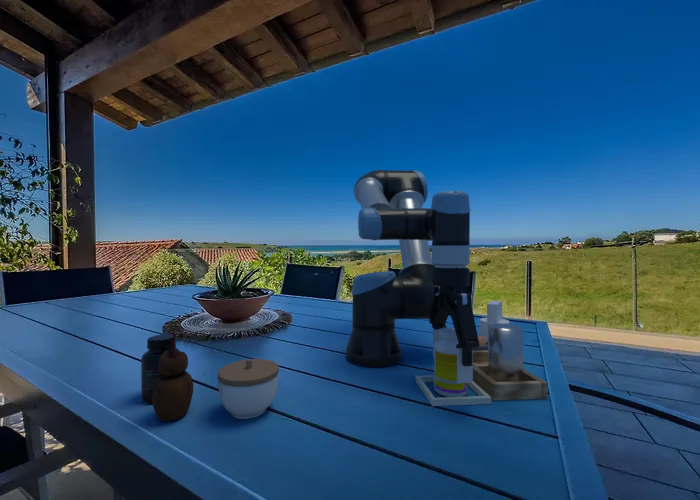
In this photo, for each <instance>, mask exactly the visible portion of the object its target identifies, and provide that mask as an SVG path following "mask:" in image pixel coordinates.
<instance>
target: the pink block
mask: <svg viewBox="0 0 700 500" xmlns="http://www.w3.org/2000/svg"><path fill="white" fill-rule="evenodd" d="M477 335H478V340H479V345H486V337H485V336H481V335H480V334H477Z"/></svg>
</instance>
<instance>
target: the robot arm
mask: <svg viewBox="0 0 700 500" xmlns="http://www.w3.org/2000/svg"><path fill="white" fill-rule="evenodd" d="M428 190H429V189H428V181H427V178H426V176H425V174H424V172H422V171H420V170H414V169H408V170H400V169H399V170H393V169H391V170H390V169H385V170H384V169H377V170H376V169H375V170H371V171H369V172H367V173H364V174H363V175H362V176H361V177H359V178H358V179H357V181H356V182H355V184H354V187H353V194H354V198H355V200H356V201H357V203H358V204H360V207H361V208H360V209H359V211H358V215H357V219H358V220H357V228H358V237H359V238H360V239H362V240H368V241H369V240H370V241H371V240H372V241H385V240H386V241H389V240H390V241H391V240H392V241H398V244H399V249H400V256H401V263H402V269H400V271H399V272H398V276H397V275H396V273H395V271H392V270H386V271H383V270H382V271H375V272H373V271H372V272H368V273H364V274H362V273H361V274H359V275H357V276H355V278H353V280H352V290H351V296H352V309H351V310H352V312H351V313H352V314H351V315H352V316H351V317H352V320H351V321H352V322H351V323H352V324H351V327H352V328H351V332H350V335H349V339H348V342H347V344H346V345H347V346H346V348H345V358H346V360H347V362H349V363H351V364H353V365H358V366H360V367H361V366H362V367H367V368H368V367H369V368H381V367H383V368H385V367H389V366H394V365H396V364H398V363H400V362H401V361H402V349H401V345H400V342H399V338H398V335H397V332H396V320H429V324H430V325H431V327H432V357H433V359H434V345H435V343H436V342H437V341H438V340H440V337H439V329H440V328H448V327H447V324H446V323H447V320H448V317H450V318H451V320H452V324H453V328H455V332H456V336H457V339H458V343H459V344H457V345H456V348H457V382H458V383H472V382H473V348H476V347H479V340H478V335H479V334H478V330H477V325H476V322H475V316H474V312H473V306H472V296H471V293H467V292H466V293H464V291H463V288H464V287H468V286H470V284H471V279H470V278H471V274H470V273H471V269H470V268H469V267H467V266H469V265H470V262H471V261H470V258H471V257H470V255H472V251H471V250H470V231H471V230H470V229H471V228H470V227H471V222H470V221H471V217H470V215H471V207H470V205H471V204H470V196H469V194H468V193H467V192H465V191H462V190H446V191H444V190H443V191H440V192H439V191H438V192H436V193H434V194H433V195H432V198H431V205H430V208H429V207H427V208H425V207H423V206H424V204H425V203H426V201H427V199H428V195H429V191H428ZM429 241H431V245H432V246H431V251H430V245H429Z"/></svg>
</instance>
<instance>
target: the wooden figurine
mask: <svg viewBox="0 0 700 500" xmlns="http://www.w3.org/2000/svg"><path fill="white" fill-rule="evenodd" d="M175 333H176V332H175V329H173V330H172V335H173V341H172V352H169V353H166V354H164V355H162V356H161V358H160V360H159V365H158V369H159V373H160V374H161V375H162V376H161V377H159V379H158V380H157V382H156V383H155V386H154V389H153V394H152V403H153V404H152V408H153V410H154V414H155V415H156V417H157V418H158V419H159V420H161V421H162V422H171V421H175V420H176V421H177V419H180V418H182V417H183V416H184V415H185V414H187V412H188V410H189V409H190V406H191V402H192V399H193V395H194V381H193V378H192V375H191V374H190V373H189V372H188V371H187V369H188V366H189V359H188V355H187V354H186V353H185V352H184V351H182V350H179V351H176V348H177V345H176V344H177V343H176V334H175Z"/></svg>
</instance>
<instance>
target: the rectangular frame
mask: <svg viewBox="0 0 700 500" xmlns="http://www.w3.org/2000/svg"><path fill="white" fill-rule="evenodd" d="M415 382H416V384H417V386H418V387H419V389H420V390H421V391H422V393H423V395H424V396H425V397H426V399H427V400H428V402H429V404H430V405H431V407H444V406H445V407H446V406H447V407H449V406H474V405H476V406H477V405H492V401H493V399H492V398H491V397H490V396H489V395H488V394H487V393H486V392H485V391H483V390H482V389H481V388H480V387H479V386H478V385H477V384H476V383H475V382H472V383H467V387H469V388H470V389H471V390H472V391H473V392H475V394H476V395H477V396H476V395H475V396H463V397H446V396H443V397H435V396H434V394H433V393H432V392H431V390H430V389H429V387H428V386H427V385H426V383H434V374H432V375H431V374H429V375H415Z"/></svg>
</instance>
